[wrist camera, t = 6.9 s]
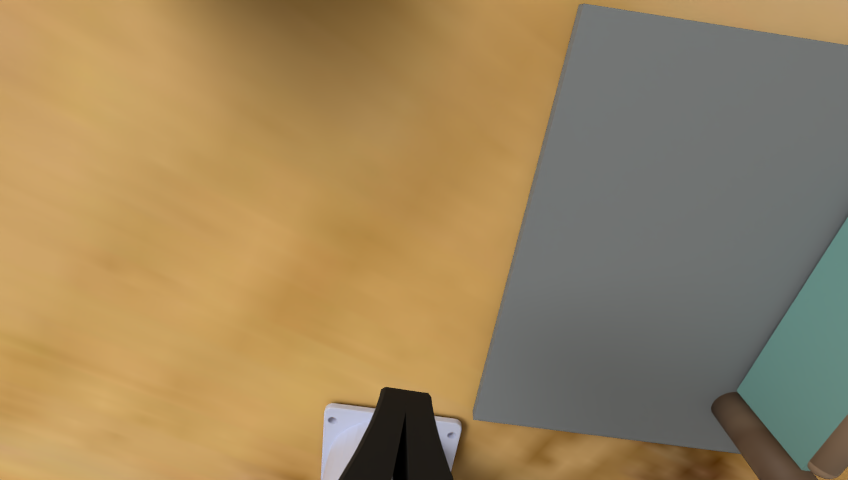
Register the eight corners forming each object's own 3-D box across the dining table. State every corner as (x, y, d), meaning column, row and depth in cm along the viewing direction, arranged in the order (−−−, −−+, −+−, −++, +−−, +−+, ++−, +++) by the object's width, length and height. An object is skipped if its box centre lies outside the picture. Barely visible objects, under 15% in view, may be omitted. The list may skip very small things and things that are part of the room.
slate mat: (755, 447, 26) (761, 456, 25) (472, 411, 25) (473, 419, 25) (1017, 73, 16) (1036, 75, 16) (579, 4, 16) (583, 3, 15)
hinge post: (733, 412, 24) (816, 520, 19) (698, 407, 24) (772, 515, 19) (749, 386, 24) (841, 491, 18) (714, 381, 23) (795, 486, 18)
